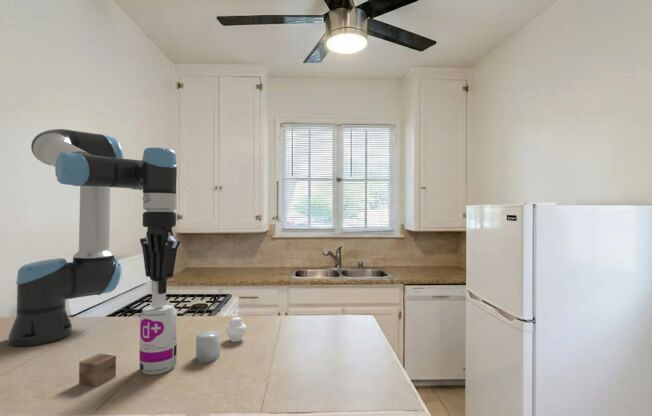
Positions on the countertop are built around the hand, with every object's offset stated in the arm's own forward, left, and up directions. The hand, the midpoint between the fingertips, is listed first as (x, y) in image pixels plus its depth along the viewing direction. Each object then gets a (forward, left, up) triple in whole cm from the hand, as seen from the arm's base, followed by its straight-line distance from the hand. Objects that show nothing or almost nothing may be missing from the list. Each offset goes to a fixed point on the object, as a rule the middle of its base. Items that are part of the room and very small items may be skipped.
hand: (158, 306), depth 87 cm
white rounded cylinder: (+5, +11, -15) cm, 19 cm away
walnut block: (-6, -11, -15) cm, 20 cm away
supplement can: (0, 0, -16) cm, 16 cm away
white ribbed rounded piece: (+2, +24, -16) cm, 29 cm away
